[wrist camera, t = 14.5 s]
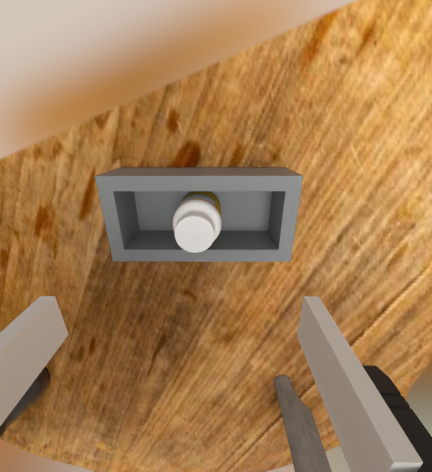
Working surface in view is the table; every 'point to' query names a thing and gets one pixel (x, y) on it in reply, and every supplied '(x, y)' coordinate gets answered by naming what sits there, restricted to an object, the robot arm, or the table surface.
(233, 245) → the tray
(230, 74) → the table surface
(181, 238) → the supplement bottle
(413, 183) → the table surface
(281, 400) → the hip flask
